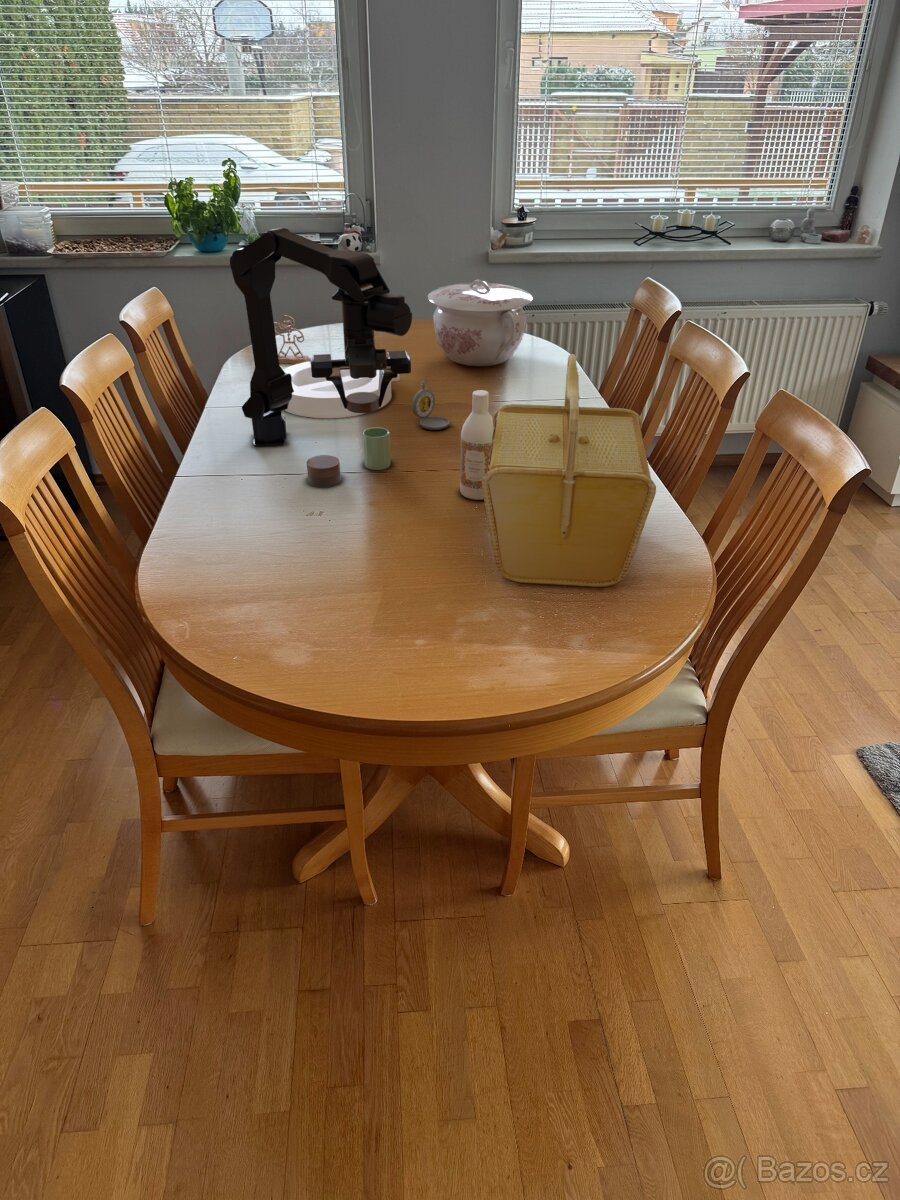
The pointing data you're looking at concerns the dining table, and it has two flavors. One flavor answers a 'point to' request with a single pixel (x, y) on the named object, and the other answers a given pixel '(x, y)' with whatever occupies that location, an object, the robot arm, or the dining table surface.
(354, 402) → the dark brown wooden disc
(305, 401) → the ring with crossbar
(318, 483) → the base chip
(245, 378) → the dining table surface
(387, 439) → the plastic cup
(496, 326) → the chamber pot
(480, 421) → the bath foam
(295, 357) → the gingerbread man figurine
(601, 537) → the picnic basket
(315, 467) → the middle chip
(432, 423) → the pocket watch
